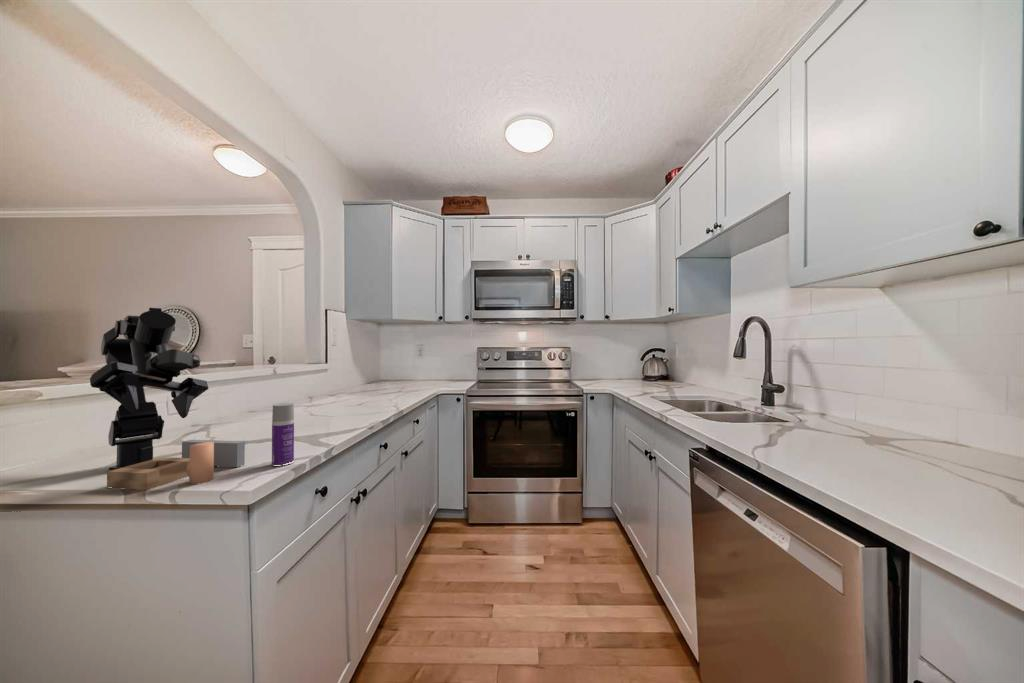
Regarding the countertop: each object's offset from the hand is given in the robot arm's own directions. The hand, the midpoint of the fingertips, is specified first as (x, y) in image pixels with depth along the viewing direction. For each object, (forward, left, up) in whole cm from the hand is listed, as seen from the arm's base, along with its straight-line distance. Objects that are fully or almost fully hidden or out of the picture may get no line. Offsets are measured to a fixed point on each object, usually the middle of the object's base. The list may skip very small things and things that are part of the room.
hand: (161, 414), depth 74 cm
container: (+14, +17, -15) cm, 27 cm away
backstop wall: (-3, +14, -15) cm, 21 cm away
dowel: (+5, +4, -15) cm, 17 cm away
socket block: (-6, +3, -15) cm, 17 cm away
